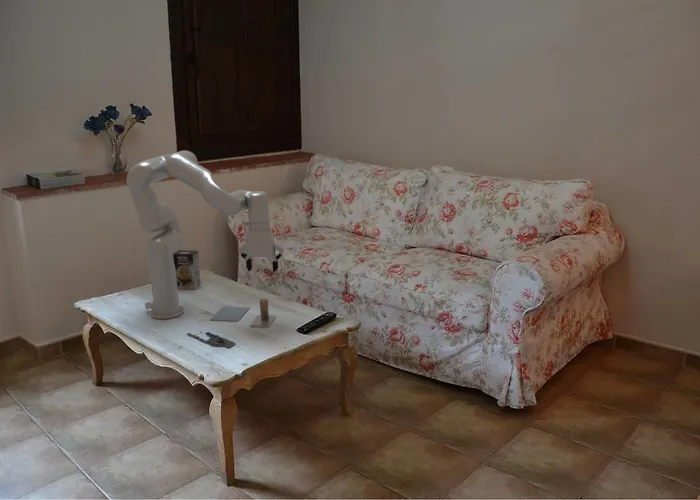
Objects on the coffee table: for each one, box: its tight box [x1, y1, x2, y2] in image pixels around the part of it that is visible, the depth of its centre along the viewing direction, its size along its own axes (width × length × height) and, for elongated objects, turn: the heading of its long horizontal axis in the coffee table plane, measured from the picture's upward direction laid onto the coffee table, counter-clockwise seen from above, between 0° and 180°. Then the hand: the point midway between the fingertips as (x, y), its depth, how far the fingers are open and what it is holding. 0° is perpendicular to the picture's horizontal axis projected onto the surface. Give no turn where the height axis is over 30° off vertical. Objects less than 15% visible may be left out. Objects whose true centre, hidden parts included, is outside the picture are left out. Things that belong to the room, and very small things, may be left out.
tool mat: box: [209, 305, 251, 323], centre depth 250 cm, size 11×14×1 cm
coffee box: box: [172, 249, 202, 291], centre depth 280 cm, size 9×6×16 cm
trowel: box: [249, 298, 276, 329], centre depth 241 cm, size 7×10×8 cm
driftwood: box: [186, 331, 236, 350], centre depth 227 cm, size 21×7×2 cm, turn 48°
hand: (262, 270), depth 239 cm, fingers open, 9 cm apart
